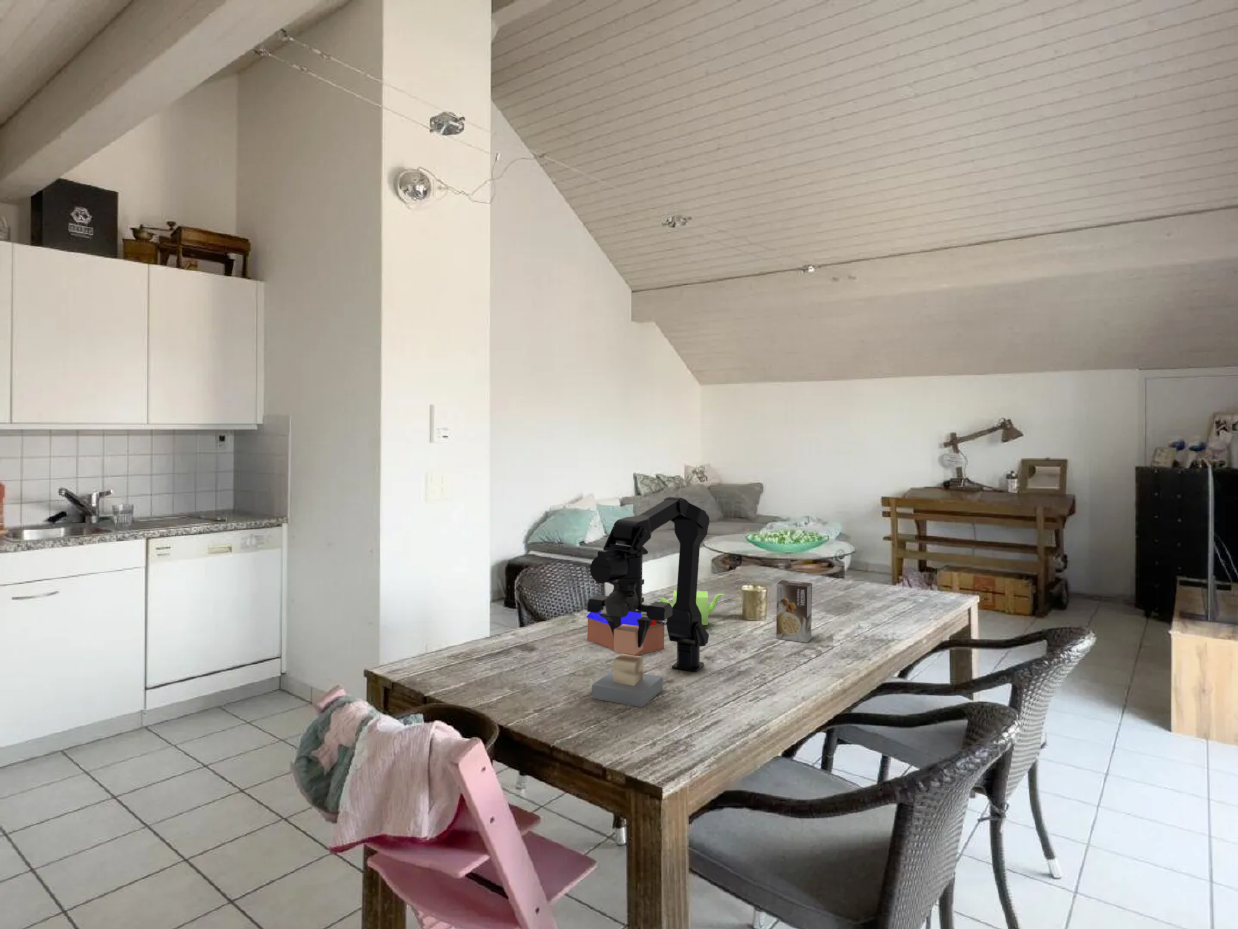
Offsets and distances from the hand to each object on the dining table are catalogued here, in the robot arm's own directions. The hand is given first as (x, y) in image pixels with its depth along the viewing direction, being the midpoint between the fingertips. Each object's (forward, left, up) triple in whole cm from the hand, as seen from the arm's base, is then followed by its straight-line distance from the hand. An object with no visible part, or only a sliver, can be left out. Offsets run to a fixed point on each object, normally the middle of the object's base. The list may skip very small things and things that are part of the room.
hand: (628, 645), depth 162 cm
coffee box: (-62, +25, -11) cm, 68 cm away
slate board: (0, 0, -11) cm, 11 cm away
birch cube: (0, 0, -8) cm, 8 cm away
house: (-35, -16, -11) cm, 40 cm away
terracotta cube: (0, 0, -1) cm, 1 cm away
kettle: (-62, -6, -11) cm, 63 cm away
